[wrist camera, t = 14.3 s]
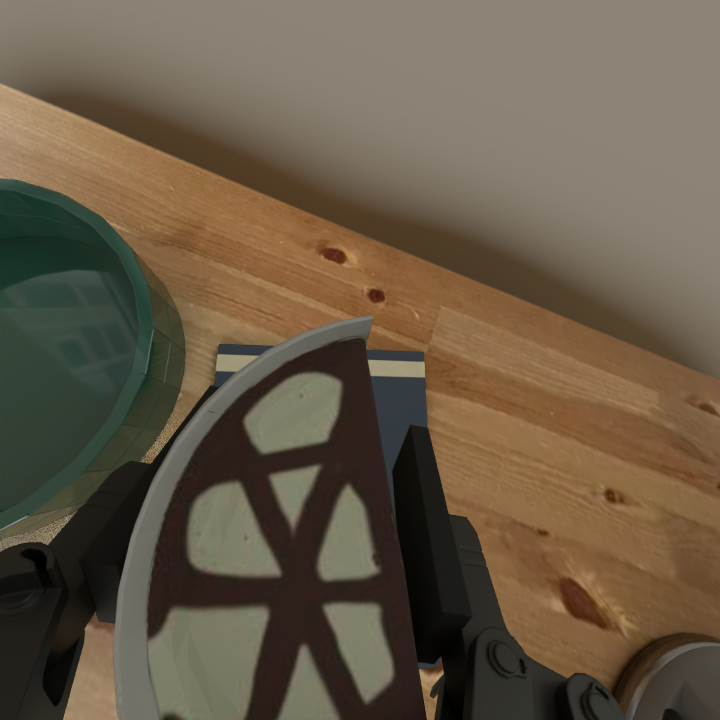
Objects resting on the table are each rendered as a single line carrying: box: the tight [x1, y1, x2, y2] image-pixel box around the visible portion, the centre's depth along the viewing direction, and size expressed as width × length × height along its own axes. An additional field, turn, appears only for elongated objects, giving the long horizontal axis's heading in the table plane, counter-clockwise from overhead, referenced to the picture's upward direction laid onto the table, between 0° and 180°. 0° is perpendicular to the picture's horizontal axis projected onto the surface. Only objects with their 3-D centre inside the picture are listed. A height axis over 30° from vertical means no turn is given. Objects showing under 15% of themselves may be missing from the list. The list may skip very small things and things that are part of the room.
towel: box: [214, 344, 440, 669], centre depth 22 cm, size 15×20×1 cm
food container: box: [113, 315, 427, 720], centre depth 11 cm, size 12×6×10 cm, turn 9°
